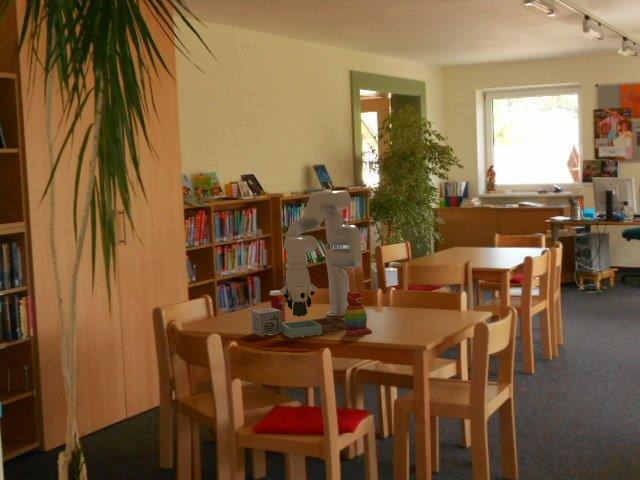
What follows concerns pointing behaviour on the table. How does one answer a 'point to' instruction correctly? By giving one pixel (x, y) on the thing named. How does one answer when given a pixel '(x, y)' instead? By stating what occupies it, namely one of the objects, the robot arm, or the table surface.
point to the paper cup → (278, 302)
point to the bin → (301, 328)
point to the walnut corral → (338, 320)
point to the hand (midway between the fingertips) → (299, 307)
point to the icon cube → (266, 321)
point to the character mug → (299, 301)
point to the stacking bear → (356, 315)
